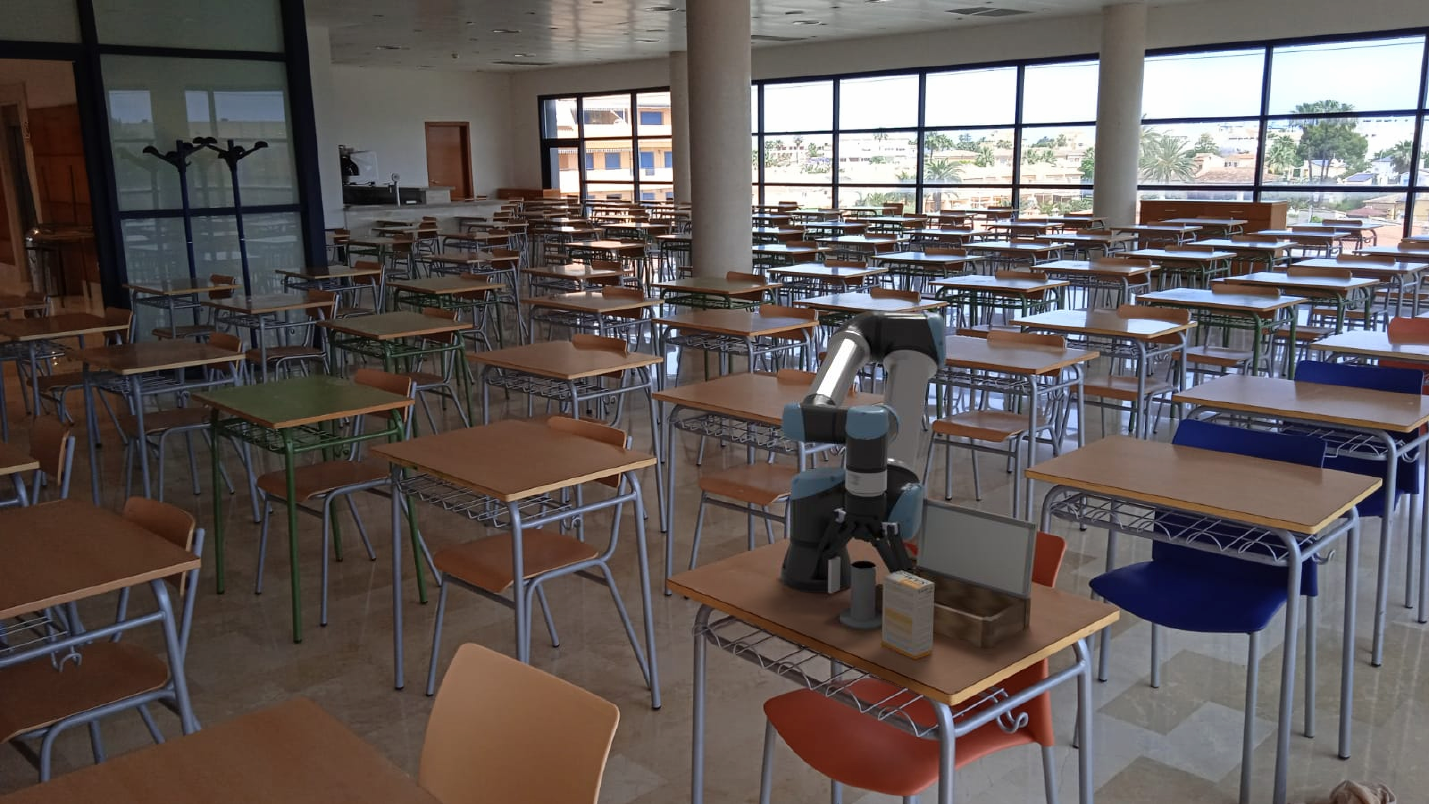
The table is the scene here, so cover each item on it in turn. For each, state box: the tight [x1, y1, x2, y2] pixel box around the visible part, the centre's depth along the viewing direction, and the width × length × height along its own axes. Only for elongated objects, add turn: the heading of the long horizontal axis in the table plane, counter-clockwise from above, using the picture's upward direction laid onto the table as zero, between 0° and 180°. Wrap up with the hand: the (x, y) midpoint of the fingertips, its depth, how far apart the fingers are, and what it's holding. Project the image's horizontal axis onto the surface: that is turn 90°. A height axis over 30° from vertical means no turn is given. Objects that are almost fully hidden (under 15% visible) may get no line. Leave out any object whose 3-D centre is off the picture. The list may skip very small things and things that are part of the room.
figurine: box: [903, 523, 921, 561], centre depth 230 cm, size 9×7×12 cm
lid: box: [914, 497, 1039, 600], centre depth 200 cm, size 24×14×1 cm
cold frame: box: [875, 567, 1032, 651], centre depth 197 cm, size 25×15×5 cm, turn 46°
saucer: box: [839, 608, 883, 631], centre depth 197 cm, size 8×8×1 cm
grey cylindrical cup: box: [849, 560, 877, 621], centre depth 196 cm, size 4×4×10 cm
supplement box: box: [881, 570, 935, 660], centre depth 183 cm, size 8×5×13 cm, turn 35°
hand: (862, 600), depth 196 cm, fingers open, 13 cm apart
